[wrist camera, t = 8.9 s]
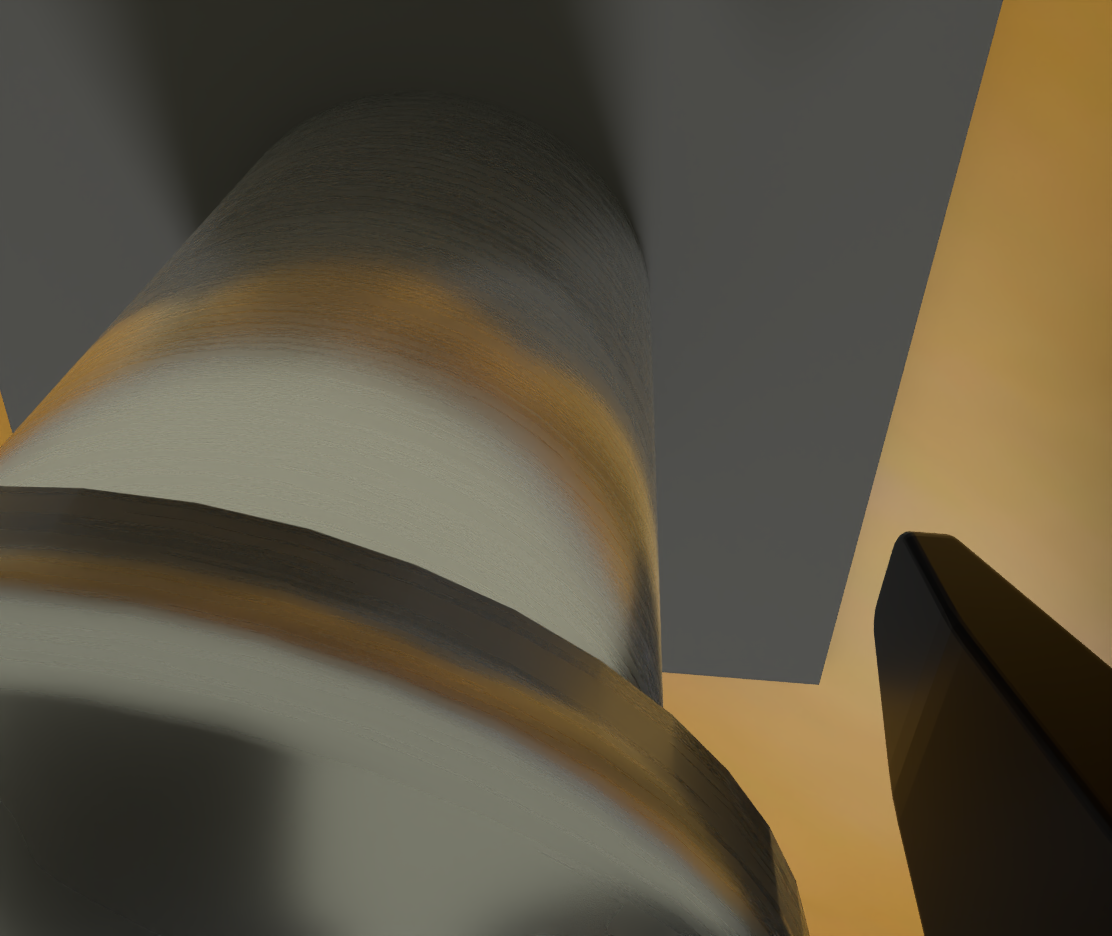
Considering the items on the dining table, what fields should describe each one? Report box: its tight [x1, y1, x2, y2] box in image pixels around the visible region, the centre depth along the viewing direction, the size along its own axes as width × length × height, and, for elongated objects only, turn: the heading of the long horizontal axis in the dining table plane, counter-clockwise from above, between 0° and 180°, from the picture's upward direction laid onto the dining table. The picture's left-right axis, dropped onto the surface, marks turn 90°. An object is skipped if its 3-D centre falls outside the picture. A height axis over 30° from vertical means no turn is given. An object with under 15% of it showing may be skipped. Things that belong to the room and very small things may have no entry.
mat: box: [0, 0, 1003, 685], centre depth 12 cm, size 11×11×1 cm
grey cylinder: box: [0, 91, 809, 936], centre depth 9 cm, size 6×6×9 cm
